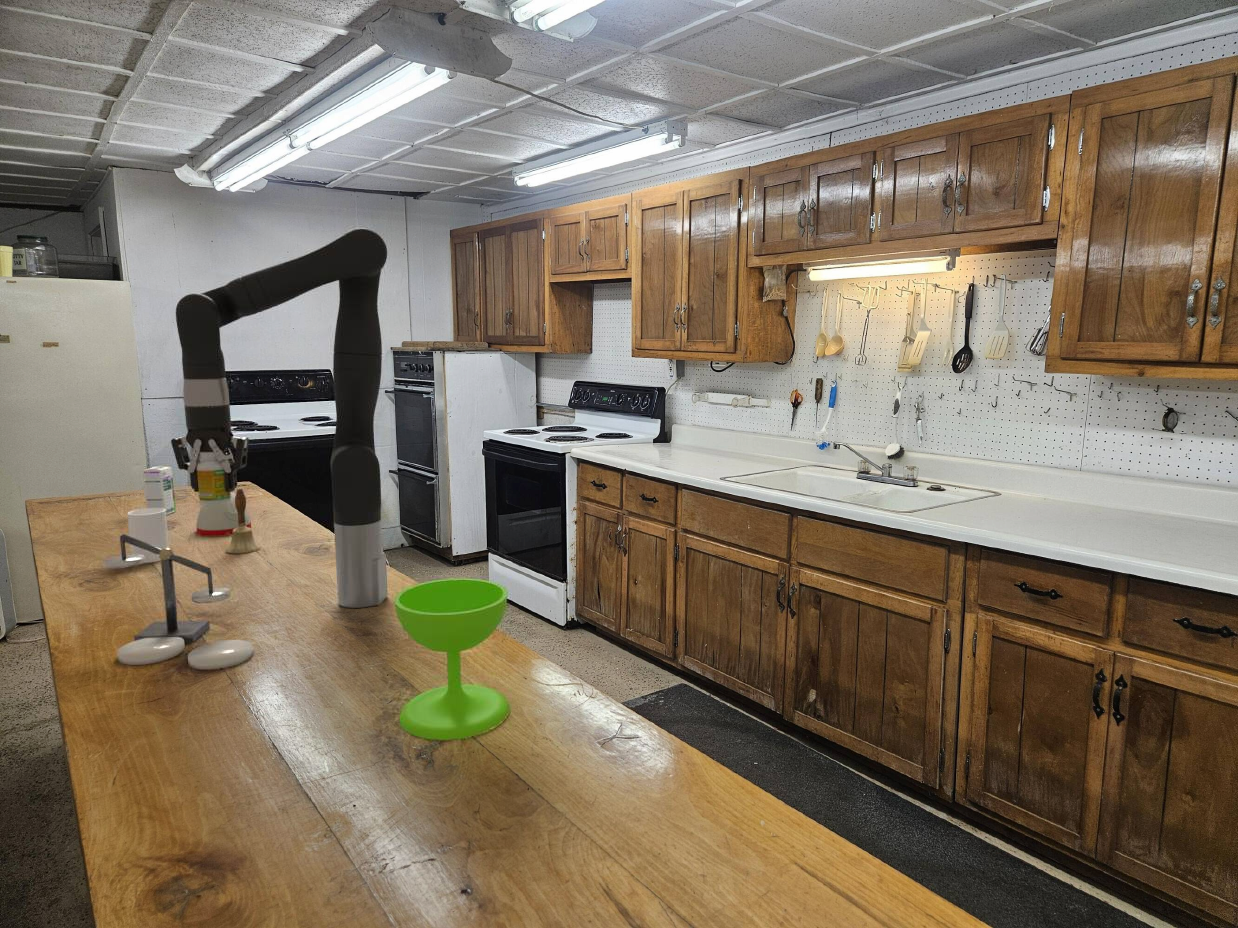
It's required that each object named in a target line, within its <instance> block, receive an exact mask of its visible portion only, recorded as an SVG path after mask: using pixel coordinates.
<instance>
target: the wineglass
mask: <svg viewBox="0 0 1238 928" xmlns="http://www.w3.org/2000/svg"><path fill="white" fill-rule="evenodd" d="M508 593H509V591H508V590H507V589H506V587H505V586H503V585H502V584H500V583H498V582H494V581H491V580H485V579H478V578H465V577H464V578H462V577H461V578H444V579H435V580H431V581H425V582H422V583H418V584H414V585H410V586H409V587H407V588H405V589H402V590H401V591H399V592H398V593H397V594H396V595H395V597H394V598H393V602H394V607H395V611H396V618H397V619H398V621H399V624H400V626H401V627H402V629H403V630H404V632H405V633H406V634H407V635H408V636H409V637H410V638H411V639H412V640H413V641H415V643H417V644H419V645H421V647H422V646H423V647H425V648H427V649H429V650H431V651H434V652H439V653H446V665H447V672H446V673H447V685H443V686H440V687H436V688H431V689H428V690H426V691H424V692H422V693H419V694H417V695H416V696H414V697H413V698H411V699H410V700H409V701H408V702H407V703H406V704H405V705H404V706H403V707H402V709H401V711H400V714H399V717H398V719H399V720H398V721H399V724H400V726H401V728H402V729H403V730H404V731H405V732H407V733H409V734H411V735H413V736H415V737H418V738H422V739H426V740H434V741H453V740H452V739H457V740H463V739H467V738H466V737H469V738H471V737H470V736H473V735H476V734H479V733H483V732H485V731H487V730H489V729H490V728H492V727H494V726H497V725H498V724H499V723H500V722H501V721H503V720H504V719H505V717H506V716H507V714H508V713H509V714H510V712H509V707H510V706H511V705H510V704H509V702H508V700H507V698H506V697H505V696H504V695H503V694H502V693H501V692H499V691H497V690H495V689H493V688H490V687H487V686H483V685H479V684H469V683H467V684H466V683H465V684H462V674H461V673H462V668H461V667H462V666H461V664H462V663H461V652H463V651H467V650H470V649H473V648H474V647H476V646H478V645H480V644H481V643H483V642H485V640H487V639H488V638H489V637H490V636H491V635H492V634H493V633H494V632H495V630H496V629H497V628H498V627H499V625H500V624H501V623H502V619H503V617H504V614H505V612H506V608H507V601H508ZM510 708H511V707H510ZM483 734H484V733H483ZM473 737H474V736H473ZM435 739H436V740H435Z"/></svg>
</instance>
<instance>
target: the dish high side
mask: <svg viewBox="0 0 1238 928" xmlns="http://www.w3.org/2000/svg"><path fill="white" fill-rule="evenodd" d="M185 648H186V645H185V643H184V639H183V638H181V637H177V636H176V637H149V638H144V639H140V640H136V641H135V640H133V641H130V642H129V643H126V644H124V645H122V646H121V647H119V649H118V650H117V660H118V662H119V663H121V664H123V665H128V666H138V665H139V666H143V665H150V664H155V663H159V662H163V661H167V660H169V659H172V658H175V657H177V656H179V655H180V654H182V653H183V652H184V650H185Z"/></svg>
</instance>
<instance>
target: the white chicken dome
mask: <svg viewBox="0 0 1238 928" xmlns="http://www.w3.org/2000/svg"><path fill="white" fill-rule="evenodd" d="M235 496H236V493H235V492H234V491H232V492H231V500H229V501H227V502H224V503H216V504H204V503H201V504H202V505H201V506H200V508H199V512H198V515H197V520H196V534H198V535H200V536H205V537H207V536H208V537H219V536H218V535H222V536H228V535H229V534H231V535H232V533H233V530H234V529H236V528H237V527H238V512H237V509H236V506H235ZM245 525H246V527H248V528H251V529H252V521H251V517H250V514H249V512H248V509H247V507H246V508H245ZM229 536H230V535H229Z"/></svg>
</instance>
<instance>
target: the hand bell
mask: <svg viewBox="0 0 1238 928" xmlns="http://www.w3.org/2000/svg"><path fill="white" fill-rule="evenodd" d="M235 494H236V496H235V506H236V509H237V512H238V527H237V528H236V529H234V530H233V533H232V534H231V539H230V540H231V541H230V543H229V545H228V546H227V547H226V548H225V553H228V554H232V555H233V554H235V555H237V554H249V552H250V553H253V551H254V552H256V551H259V550H260V549H262V547H261V545H260V544H259V543H257V541H256V540H255V537H254V535H253V530H252V527H251V528H248V527H246V525H245V508H246V509H247V498H246V495H245V492H244V490H243V488H237V489H236V493H235Z"/></svg>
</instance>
